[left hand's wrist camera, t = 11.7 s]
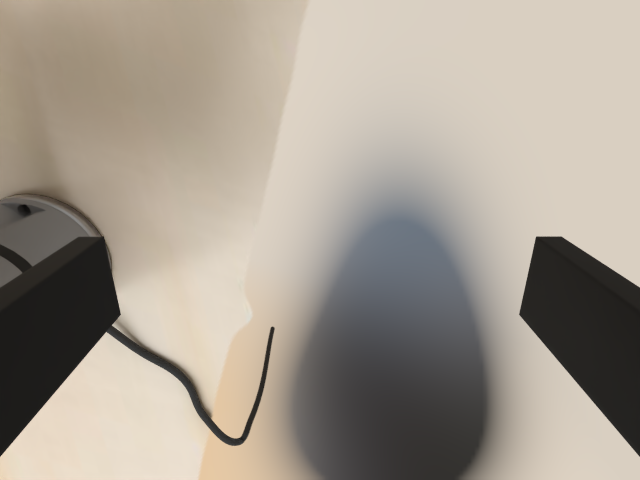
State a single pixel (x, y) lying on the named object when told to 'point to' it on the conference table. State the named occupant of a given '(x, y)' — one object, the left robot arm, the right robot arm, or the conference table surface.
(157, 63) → the conference table surface
